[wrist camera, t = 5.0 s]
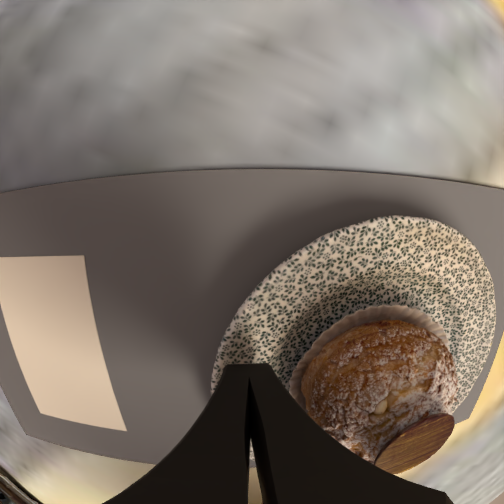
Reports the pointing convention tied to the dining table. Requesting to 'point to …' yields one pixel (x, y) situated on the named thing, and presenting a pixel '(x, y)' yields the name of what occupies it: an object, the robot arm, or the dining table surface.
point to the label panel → (176, 286)
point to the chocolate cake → (12, 493)
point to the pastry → (373, 334)
